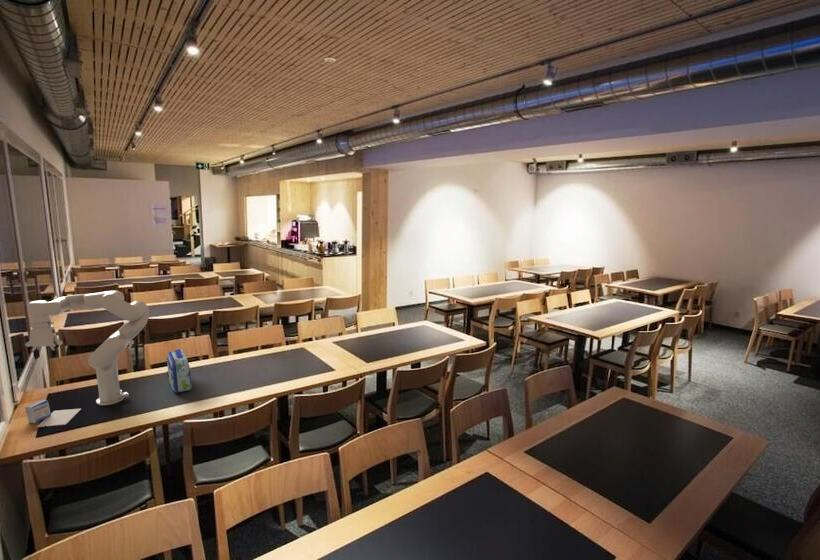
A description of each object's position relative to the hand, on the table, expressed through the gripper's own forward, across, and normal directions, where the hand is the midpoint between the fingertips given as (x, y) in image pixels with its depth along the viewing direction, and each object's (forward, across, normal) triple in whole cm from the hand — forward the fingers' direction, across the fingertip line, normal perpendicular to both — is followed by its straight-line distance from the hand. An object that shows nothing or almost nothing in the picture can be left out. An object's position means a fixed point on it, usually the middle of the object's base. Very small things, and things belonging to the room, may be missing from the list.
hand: (45, 357), depth 222 cm
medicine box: (+28, -1, +14) cm, 31 cm away
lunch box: (+28, -58, -14) cm, 66 cm away
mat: (+28, -10, +14) cm, 32 cm away
